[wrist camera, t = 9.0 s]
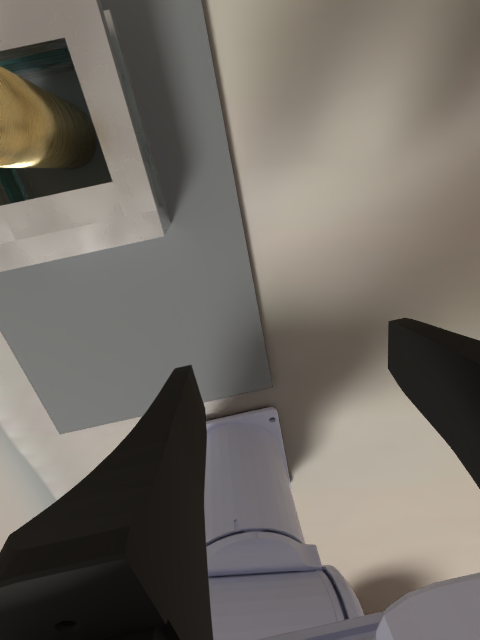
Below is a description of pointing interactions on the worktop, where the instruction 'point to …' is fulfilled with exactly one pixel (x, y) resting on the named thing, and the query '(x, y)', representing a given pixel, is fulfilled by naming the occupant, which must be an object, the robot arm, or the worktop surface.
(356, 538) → the worktop surface
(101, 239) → the grey teal hollow block
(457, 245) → the worktop surface
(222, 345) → the mat
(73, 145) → the pin
